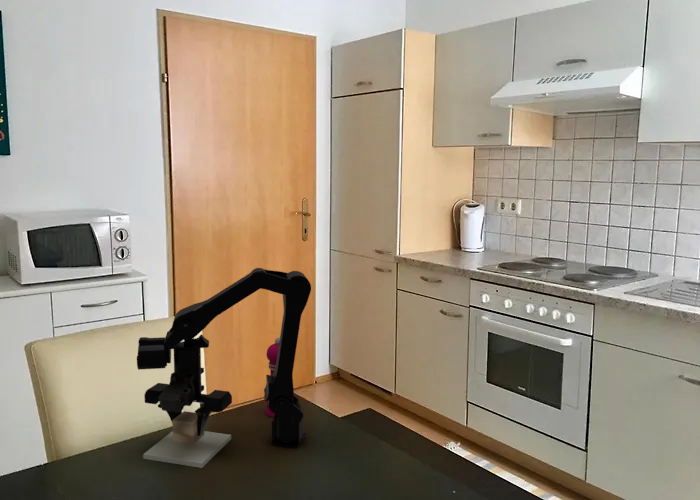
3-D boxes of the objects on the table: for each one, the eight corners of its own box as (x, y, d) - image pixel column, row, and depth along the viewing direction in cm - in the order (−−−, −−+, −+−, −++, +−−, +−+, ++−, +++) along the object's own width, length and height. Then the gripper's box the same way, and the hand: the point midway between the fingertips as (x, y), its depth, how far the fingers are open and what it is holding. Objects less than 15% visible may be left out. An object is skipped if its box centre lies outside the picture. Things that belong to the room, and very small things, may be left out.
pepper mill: (287, 420, 150) (287, 343, 147) (260, 417, 152) (260, 340, 149) (295, 408, 157) (296, 334, 154) (269, 406, 159) (269, 332, 156)
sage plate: (231, 438, 139) (231, 434, 139) (202, 467, 126) (201, 463, 126) (177, 431, 143) (177, 427, 143) (143, 458, 129) (143, 454, 129)
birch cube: (204, 434, 136) (204, 413, 135) (193, 444, 131) (192, 422, 130) (184, 431, 137) (184, 411, 136) (172, 441, 132) (172, 420, 131)
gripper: (128, 374, 126) (130, 444, 128) (208, 383, 122) (209, 456, 124) (157, 358, 137) (159, 422, 139) (232, 366, 132) (233, 433, 134)
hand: (189, 433), depth 134 cm, fingers closed on birch cube, 5 cm apart
